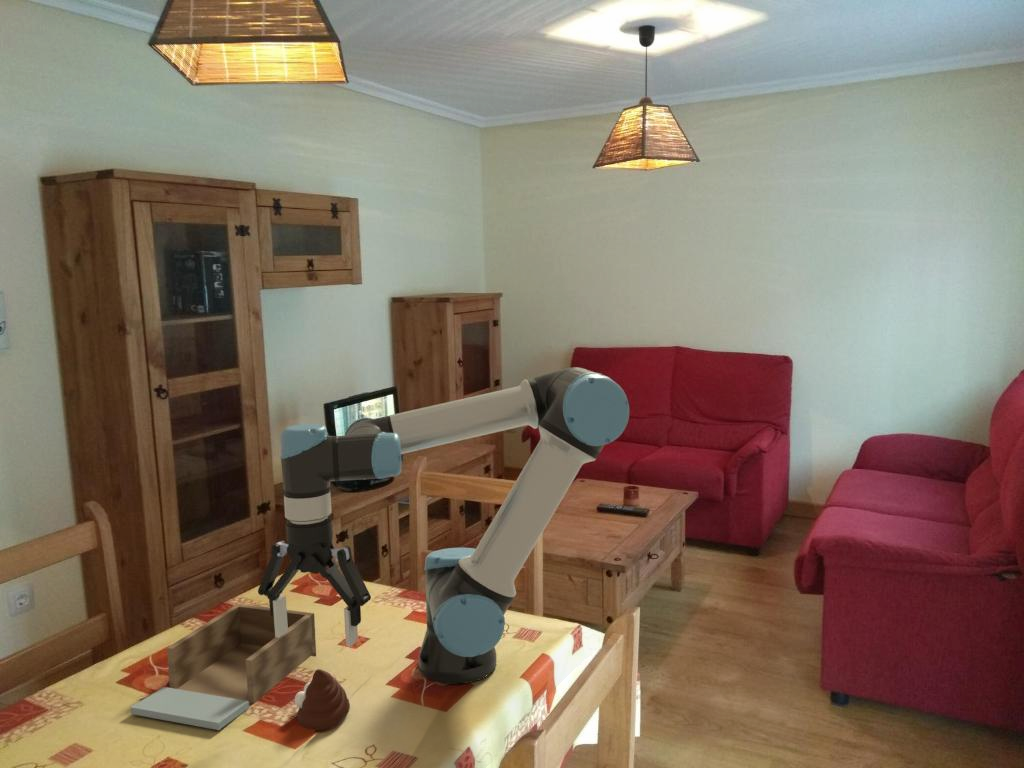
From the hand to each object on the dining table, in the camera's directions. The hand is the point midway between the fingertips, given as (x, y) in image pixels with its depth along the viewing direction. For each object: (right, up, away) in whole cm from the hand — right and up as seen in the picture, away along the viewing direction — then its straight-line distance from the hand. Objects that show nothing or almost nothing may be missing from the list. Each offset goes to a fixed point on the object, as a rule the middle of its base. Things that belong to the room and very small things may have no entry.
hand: (316, 638), depth 133 cm
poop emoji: (+1, -15, +2) cm, 15 cm away
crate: (-18, -13, +18) cm, 28 cm away
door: (-21, -13, +6) cm, 26 cm away
